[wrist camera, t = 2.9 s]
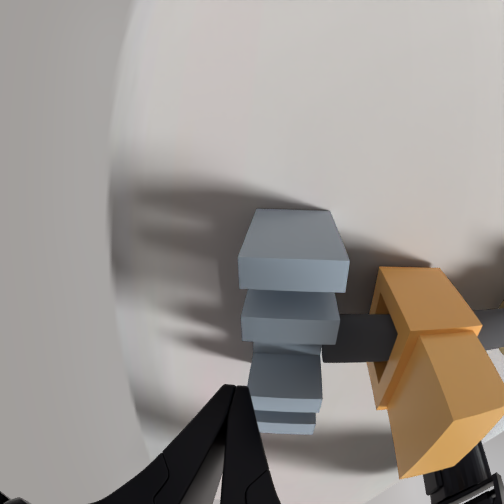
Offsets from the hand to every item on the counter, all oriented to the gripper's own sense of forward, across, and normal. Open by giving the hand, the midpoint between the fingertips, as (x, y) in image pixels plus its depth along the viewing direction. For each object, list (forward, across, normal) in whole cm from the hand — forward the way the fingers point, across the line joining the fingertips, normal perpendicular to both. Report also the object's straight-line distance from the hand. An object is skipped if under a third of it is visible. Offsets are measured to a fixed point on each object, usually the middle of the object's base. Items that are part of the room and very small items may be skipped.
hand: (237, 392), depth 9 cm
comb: (+6, -2, 0) cm, 6 cm away
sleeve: (+6, -7, 0) cm, 9 cm away
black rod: (+4, -10, 0) cm, 11 cm away
